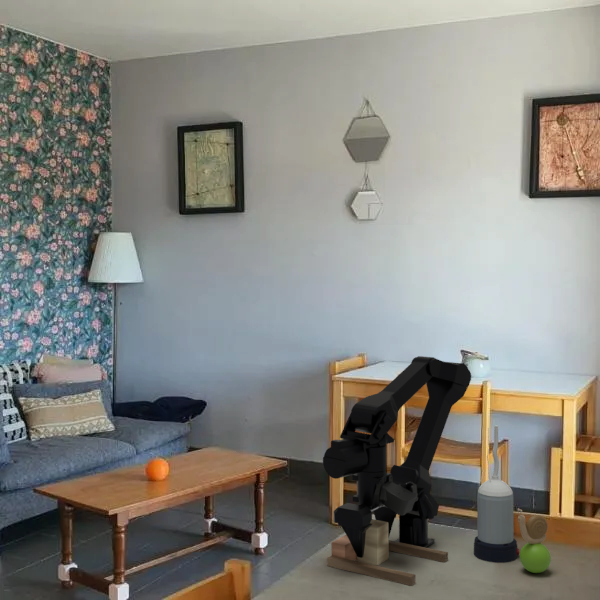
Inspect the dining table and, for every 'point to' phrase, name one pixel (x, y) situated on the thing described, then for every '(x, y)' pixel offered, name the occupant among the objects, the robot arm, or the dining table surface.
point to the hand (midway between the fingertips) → (372, 550)
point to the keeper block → (376, 543)
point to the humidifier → (495, 517)
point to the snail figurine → (534, 543)
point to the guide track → (347, 558)
